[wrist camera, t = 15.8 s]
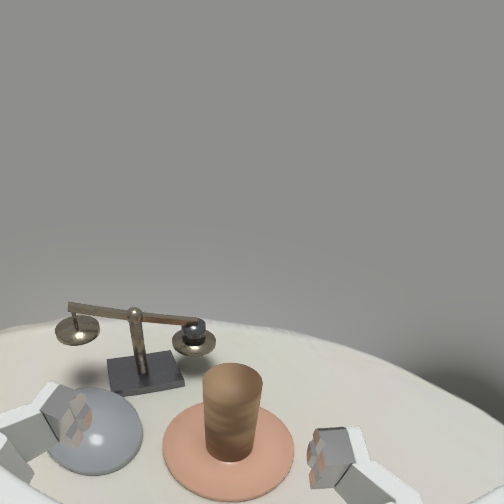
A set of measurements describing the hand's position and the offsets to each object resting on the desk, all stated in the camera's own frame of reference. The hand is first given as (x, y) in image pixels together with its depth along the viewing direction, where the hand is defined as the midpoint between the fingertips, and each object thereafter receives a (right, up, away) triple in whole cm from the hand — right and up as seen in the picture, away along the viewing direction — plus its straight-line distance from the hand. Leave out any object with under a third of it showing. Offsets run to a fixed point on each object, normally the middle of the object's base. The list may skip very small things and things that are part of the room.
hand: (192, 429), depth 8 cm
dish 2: (-1, -15, +17) cm, 23 cm away
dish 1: (-17, -15, +16) cm, 27 cm away
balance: (-13, -11, +27) cm, 32 cm away
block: (0, -14, +17) cm, 22 cm away
